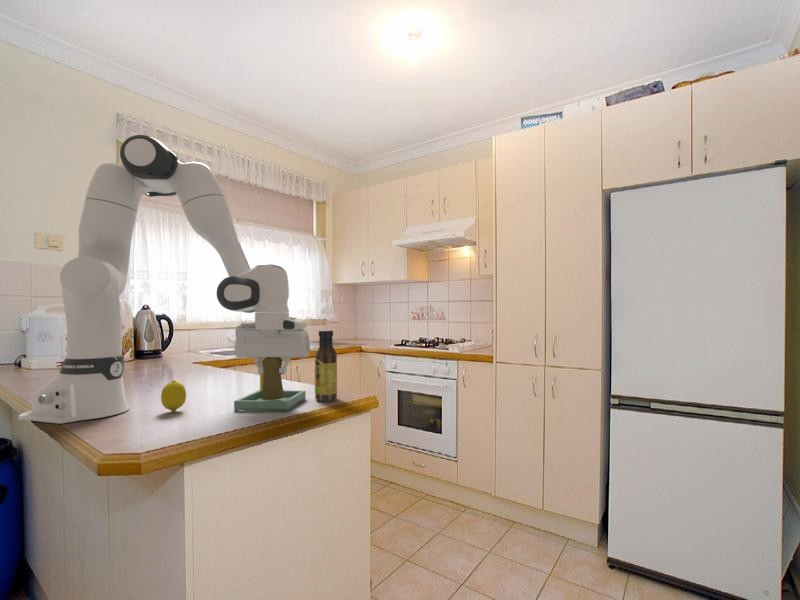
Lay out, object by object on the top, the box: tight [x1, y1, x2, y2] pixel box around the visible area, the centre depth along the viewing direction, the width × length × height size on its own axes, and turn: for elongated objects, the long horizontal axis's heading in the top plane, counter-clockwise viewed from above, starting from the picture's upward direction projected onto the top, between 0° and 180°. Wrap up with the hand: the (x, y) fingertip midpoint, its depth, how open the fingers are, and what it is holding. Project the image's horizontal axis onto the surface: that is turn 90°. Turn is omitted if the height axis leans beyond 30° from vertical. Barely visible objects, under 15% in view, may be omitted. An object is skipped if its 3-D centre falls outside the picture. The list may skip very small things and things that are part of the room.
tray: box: [233, 389, 307, 413], centre depth 108 cm, size 14×14×2 cm
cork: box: [261, 357, 284, 400], centre depth 109 cm, size 6×6×11 cm
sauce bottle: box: [314, 329, 338, 403], centre depth 114 cm, size 6×6×20 cm
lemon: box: [160, 379, 187, 413], centre depth 102 cm, size 6×6×8 cm
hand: (272, 374), depth 109 cm, fingers closed on cork, 4 cm apart
